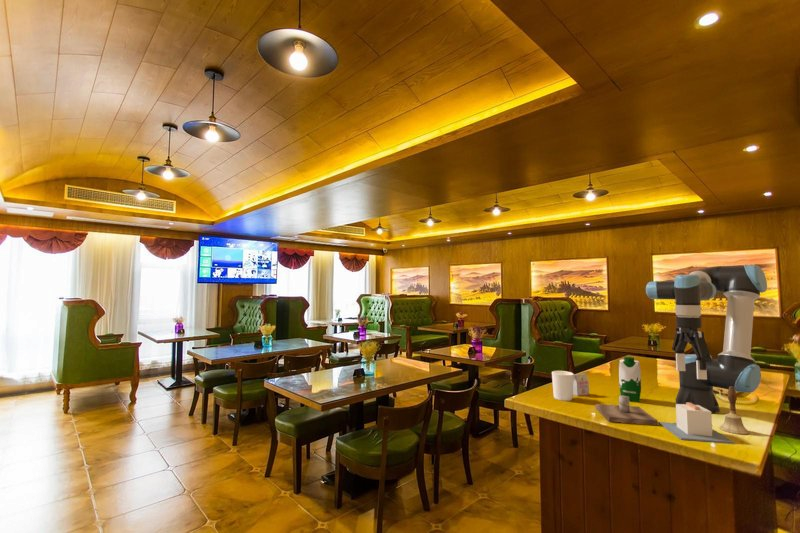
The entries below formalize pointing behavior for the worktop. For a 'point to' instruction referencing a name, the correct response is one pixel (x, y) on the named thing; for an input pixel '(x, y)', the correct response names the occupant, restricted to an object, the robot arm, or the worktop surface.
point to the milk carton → (630, 378)
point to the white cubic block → (694, 419)
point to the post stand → (625, 413)
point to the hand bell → (733, 416)
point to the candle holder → (562, 385)
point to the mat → (684, 436)
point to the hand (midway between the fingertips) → (691, 374)
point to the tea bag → (580, 385)
